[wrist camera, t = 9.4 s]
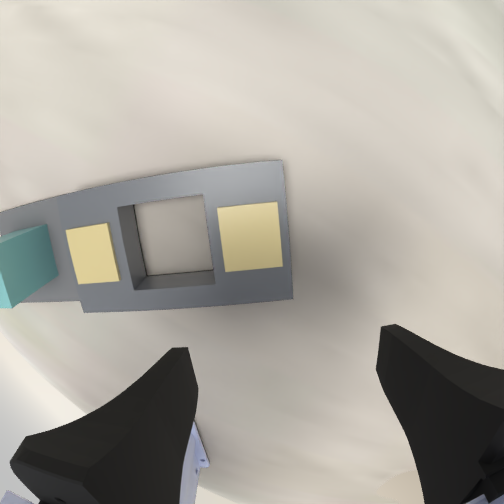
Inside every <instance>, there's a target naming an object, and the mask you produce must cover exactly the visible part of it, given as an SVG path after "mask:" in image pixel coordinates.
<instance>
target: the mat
mask: <svg viewBox="0 0 504 504" xmlns="http://www.w3.org/2000/svg"><path fill="white" fill-rule="evenodd" d="M45 224H47V227H48V232H49V237H50V241H51V246H52V250H53V254H54V258H55V262H56V266H57V270H58V274H59V275H58V276H57V277H55V278H54V279H52V280H51V281H50V282H48V283H47V284H45V285H44V286H42V287H41V288H39V289H38V290H37V291H35V292H34V293H32V294H31V295H30V296H28V297H27V298H25V299H24V300H23V301H21V302H20V303H25V302H62V301H80V299H79V295H78V292H77V289H76V285H75V281H74V278H73V274H72V270H71V266H70V262H69V258H68V254H67V250H66V245H65V241H64V236H63V231H62V226H61V221H60V216H59V210H58V204H57V198H56V197H53V198H49V199H45V200H42V201H38V202H34V203H31V204H27V205H23V206H20V207H17V208H13V209H10V210H6V211H3V212H0V235H1V236H3V235H6V234H8V233H11V232H13V231H17V230H22V229H26V228H31V227H35V226H40V225H45Z"/></svg>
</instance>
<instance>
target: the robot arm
mask: <svg viewBox="0 0 504 504" xmlns="http://www.w3.org/2000/svg"><path fill="white" fill-rule="evenodd" d="M376 371H377V374H378V377H379V380H380V383H381V385H382V388H383V391H384V393H385V395H386V397H387V398H388V400H389V402H390V404H391V406H392V408H393V410H394V412H395V414H396V416H397V418H398V420H399V422H400V424H401V426H402V428H403V430H404V432H405V434H406V436H407V439H408V441H409V444H410V447H411V450H412V453H413V457H414V460H415V463H416V467H417V470H418V474H419V478H420V482H421V487H422V492H423V496H424V502H425V504H504V370H502V369H498V368H494V367H489V366H486V365H482V364H479V363H476V362H473V361H470V360H468V359H465V358H462V357H460V356H457V355H455V354H453V353H451V352H449V351H446V350H444V349H442V348H440V347H438V346H436V345H434V344H432V343H431V342H429V341H427V340H425V339H423V338H421V337H420V336H418V335H416V334H414V333H412V332H410V331H409V330H407V329H405V328H403V327H401V326H399V325H397V324H393V325H387V326H382V327H381V332H380V341H379V350H378V358H377V365H376ZM197 399H198V385H197V381H196V377H195V374H194V370H193V366H192V362H191V358H190V354H189V350H188V347H181V348H171V349H170V350H169V351H168V352H167V353H166V354H165V355H164V356H163V357H162V358H161V359H160V360H159V361H158V362H156V363H155V364H154V365H153V366H152V367H151V368H150V369H149V370H148V371H147V372H146V373H145V374H144V375H143V376H142V377H140V378H139V379H138V380H137V381H136V382H134V383H133V384H132V385H131V386H130V387H128V388H127V389H126V390H125V391H124V392H122V393H121V394H120V395H118V396H117V397H115V398H114V399H113V400H111V401H110V402H108V403H107V404H105V405H103V406H102V407H100V408H98V409H97V410H95V411H93V412H91V413H89V414H87V415H85V416H83V417H82V418H80V419H77V420H75V421H73V422H71V423H68V424H66V425H63V426H61V427H58V428H55V429H52V430H49V431H45V432H42V433H38V434H34V435H30V436H26V437H25V439H24V440H23V442H22V443H21V445H20V446H19V448H18V449H17V451H16V453H15V454H14V456H13V457H12V459H11V460H10V466H11V468H12V470H13V472H14V473H15V475H16V476H17V477H18V478H19V479H20V481H22V483H23V484H24V485H25V486H26V487H27V488H28V489H29V490H30V491H31V492H32V493H33V494H34V495H35V496H36V497H38V498H39V499H40V502H39V504H195V498H196V491H197V485H198V478H199V471H200V467H209V465H210V463H209V460H208V458H207V455H206V452H205V450H204V447H203V444H202V442H201V439H200V436H199V433H198V431H197V428H196V425H195V422H194V418H195V414H196V408H197ZM0 504H33V503H32V502H30V501H29V500H27V499H25V498H22V497H20V496H19V495H17V494H15V493H13V492H11V491H6V493H5V495H4V496H3V498H2V500H1V502H0Z"/></svg>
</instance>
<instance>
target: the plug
mask: <svg viewBox="0 0 504 504" xmlns="http://www.w3.org/2000/svg"><path fill="white" fill-rule="evenodd" d="M58 275H59V274H58V270H57V266H56V262H55V258H54V254H53V250H52V246H51V241H50V237H49V232H48V227H47V224H45V225H40V226H35V227H31V228H26V229H22V230H17V231H13V232H11V233H8V234H6V235H3V236H1V237H0V308H13V307H15V306H16V305H17V304H19V303H20V302H21V301H23V300H24V299H25V298H27V297H28V296H30V295H31V294H32V293H34V292H35V291H37V290H38V289H39V288H41V287H42V286H44V285H45V284H47V283H48V282H50V281H51V280H52V279H54V278H55V277H57V276H58Z"/></svg>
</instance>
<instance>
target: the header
mask: <svg viewBox="0 0 504 504" xmlns="http://www.w3.org/2000/svg"><path fill="white" fill-rule="evenodd" d="M202 194H203V198H204V205H205V213H206V221H207V228H208V235H209V242H210V249H211V256H212V263H213V269H214V270H212V271H201V272H190V273H179V274H168V275H156V276H146V272H145V267H144V262H143V258H142V253H141V248H140V242H139V237H138V232H137V226H136V220H135V214H134V208H133V204H139V203H146V202H152V201H159V200H165V199H172V198H179V197H187V196H194V195H202ZM56 198H57V204H58V210H59V216H60V221H61V226H62V231H63V236H64V241H65V245H66V250H67V254H68V258H69V262H70V266H71V270H72V274H73V278H74V281H75V285H76V289H77V292H78V295H79V299H80V302H81V305H82V308H83V312H84V313H91V312H123V311H147V310H166V309H182V308H197V307H211V306H224V305H236V304H248V303H258V302H269V301H279V300H288V299H293V286H292V270H291V256H290V242H289V229H288V216H287V205H286V193H285V182H284V172H283V161H282V160H273V161H262V162H252V163H243V164H234V165H225V166H217V167H210V168H202V169H195V170H188V171H181V172H175V173H169V174H163V175H157V176H151V177H145V178H140V179H134V180H129V181H124V182H119V183H114V184H109V185H104V186H99V187H95V188H90V189H86V190H81V191H77V192H73V193H69V194H65V195H61V196H57V197H56Z"/></svg>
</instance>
